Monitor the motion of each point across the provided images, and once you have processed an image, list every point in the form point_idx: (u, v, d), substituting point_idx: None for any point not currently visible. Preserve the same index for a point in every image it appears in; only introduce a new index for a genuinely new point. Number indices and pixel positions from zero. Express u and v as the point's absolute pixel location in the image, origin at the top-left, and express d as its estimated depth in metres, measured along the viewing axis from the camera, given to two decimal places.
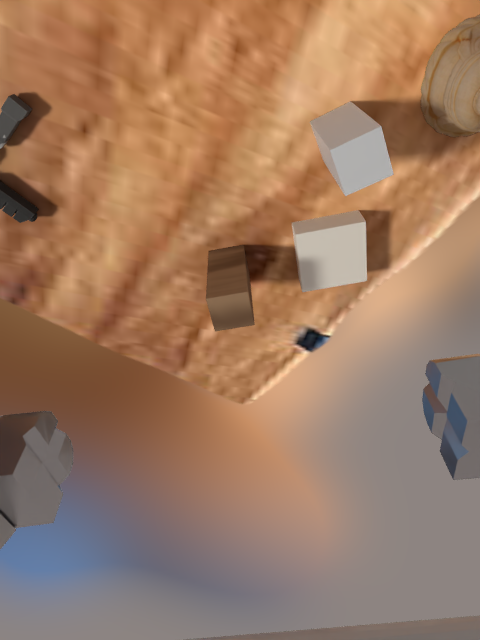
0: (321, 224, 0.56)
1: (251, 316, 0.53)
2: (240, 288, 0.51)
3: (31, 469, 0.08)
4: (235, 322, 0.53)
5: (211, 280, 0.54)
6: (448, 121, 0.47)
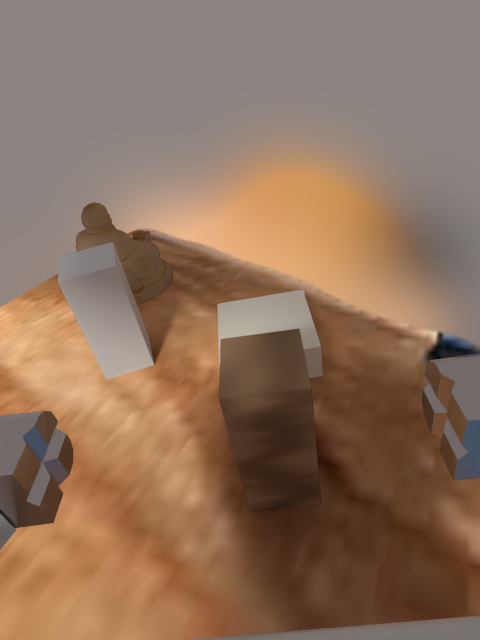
0: None
1: (278, 332, 0.27)
2: None
3: (31, 469, 0.08)
4: (291, 354, 0.25)
5: None
6: (134, 267, 0.53)
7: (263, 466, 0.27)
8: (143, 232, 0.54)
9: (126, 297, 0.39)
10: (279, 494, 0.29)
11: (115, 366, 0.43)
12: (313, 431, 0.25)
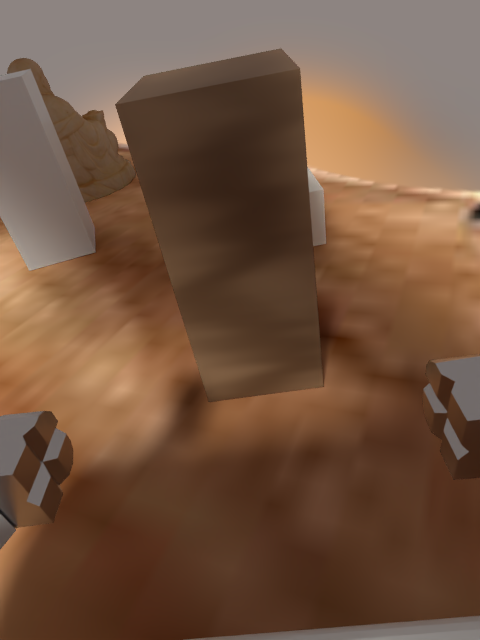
0: None
1: (243, 56, 0.15)
2: None
3: (31, 469, 0.08)
4: (263, 60, 0.14)
5: None
6: (80, 150, 0.41)
7: (220, 297, 0.16)
8: (95, 111, 0.43)
9: (44, 134, 0.28)
10: (254, 364, 0.18)
11: (40, 250, 0.32)
12: (307, 204, 0.13)
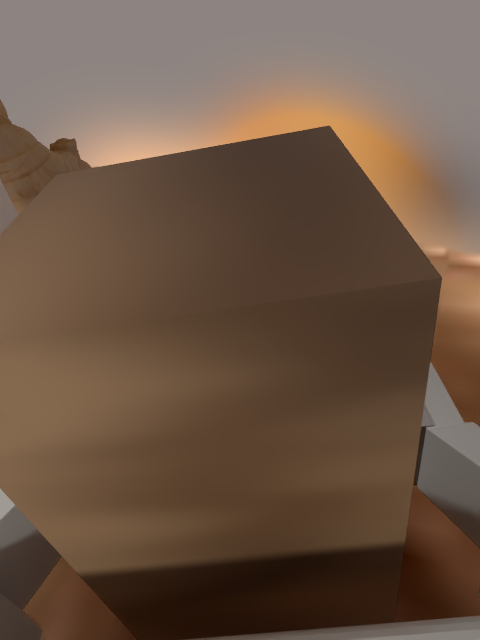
0: None
1: (253, 141, 0.08)
2: None
3: None
4: (303, 176, 0.06)
5: None
6: None
7: (205, 615, 0.08)
8: (65, 140, 0.35)
9: None
10: None
11: None
12: (402, 513, 0.06)
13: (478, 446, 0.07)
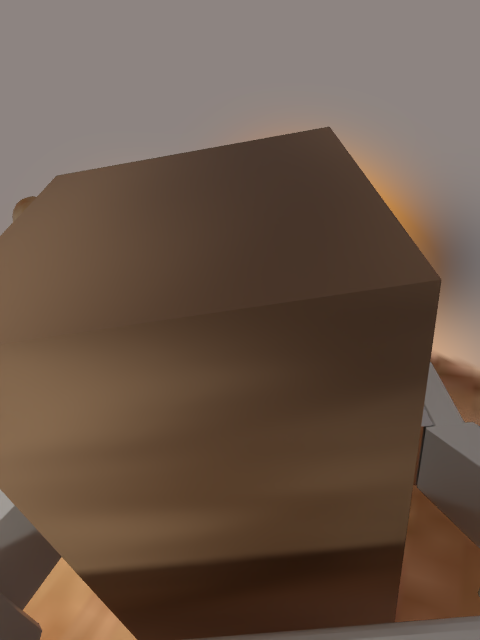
0: None
1: (253, 142, 0.08)
2: None
3: None
4: (303, 178, 0.06)
5: None
6: None
7: (205, 615, 0.08)
8: None
9: None
10: None
11: None
12: (402, 514, 0.06)
13: (478, 446, 0.07)
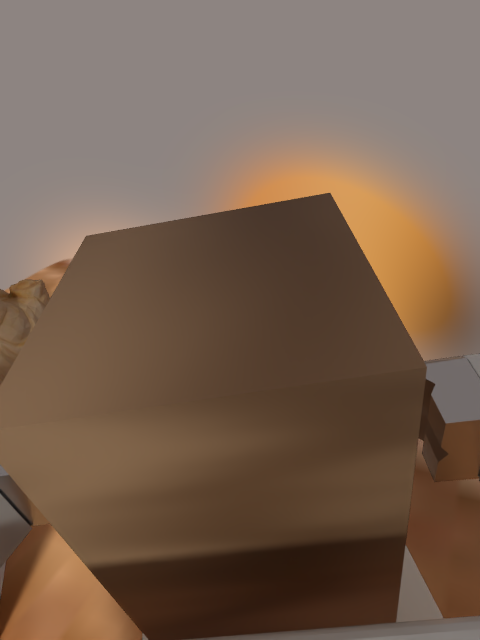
0: None
1: (262, 207, 0.08)
2: None
3: None
4: (310, 252, 0.07)
5: None
6: (0, 360, 0.25)
7: (224, 632, 0.09)
8: (29, 283, 0.27)
9: None
10: None
11: None
12: (399, 542, 0.07)
13: None
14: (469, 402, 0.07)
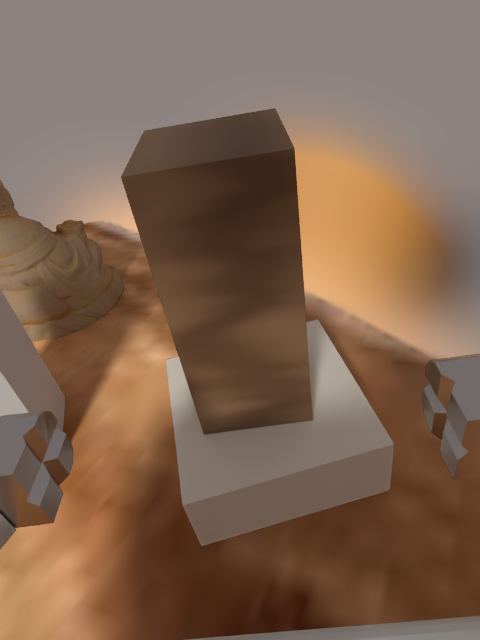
0: None
1: (239, 115, 0.16)
2: None
3: (31, 469, 0.08)
4: (259, 127, 0.14)
5: None
6: (51, 278, 0.32)
7: (216, 342, 0.16)
8: (72, 222, 0.34)
9: None
10: (247, 401, 0.18)
11: None
12: (299, 263, 0.14)
13: None
14: None
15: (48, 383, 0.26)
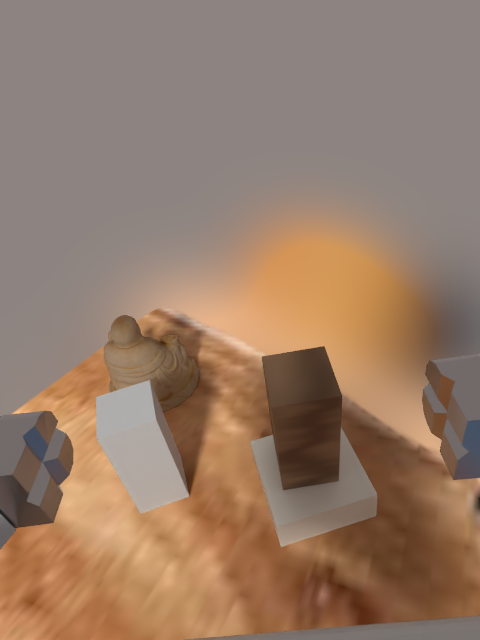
0: (266, 496, 0.40)
1: (307, 350, 0.34)
2: (264, 372, 0.34)
3: (31, 469, 0.08)
4: (321, 368, 0.32)
5: (274, 432, 0.33)
6: (163, 376, 0.51)
7: (297, 455, 0.35)
8: (172, 337, 0.53)
9: (165, 444, 0.38)
10: (307, 475, 0.37)
11: (150, 501, 0.42)
12: (339, 427, 0.33)
13: None
14: None
15: (177, 451, 0.45)
